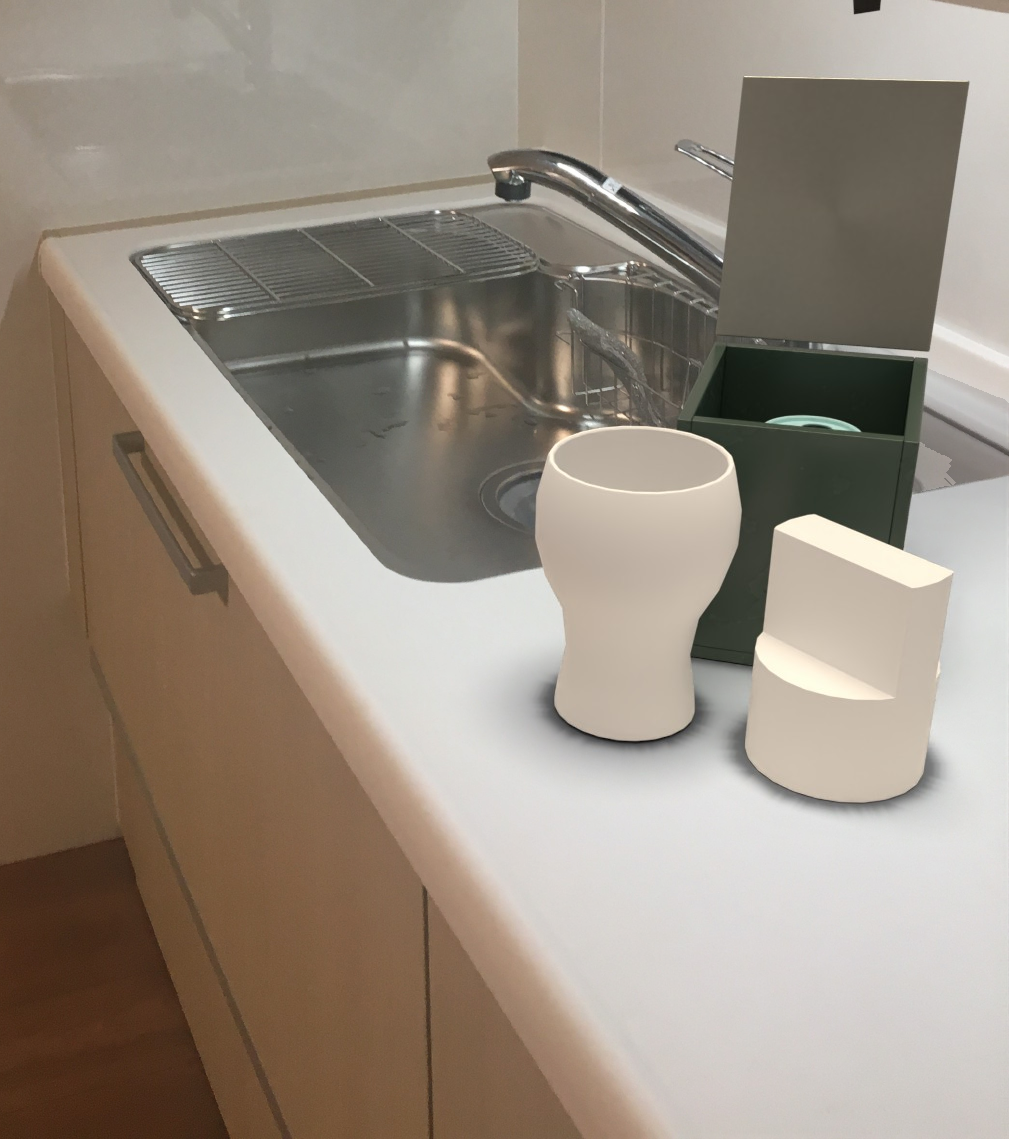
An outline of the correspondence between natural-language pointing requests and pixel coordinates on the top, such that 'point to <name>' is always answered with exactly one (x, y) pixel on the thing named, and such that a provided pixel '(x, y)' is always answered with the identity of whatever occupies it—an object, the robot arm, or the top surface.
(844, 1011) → the top surface
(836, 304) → the bin lid
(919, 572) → the base with upright slab
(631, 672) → the cup
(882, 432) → the bin
